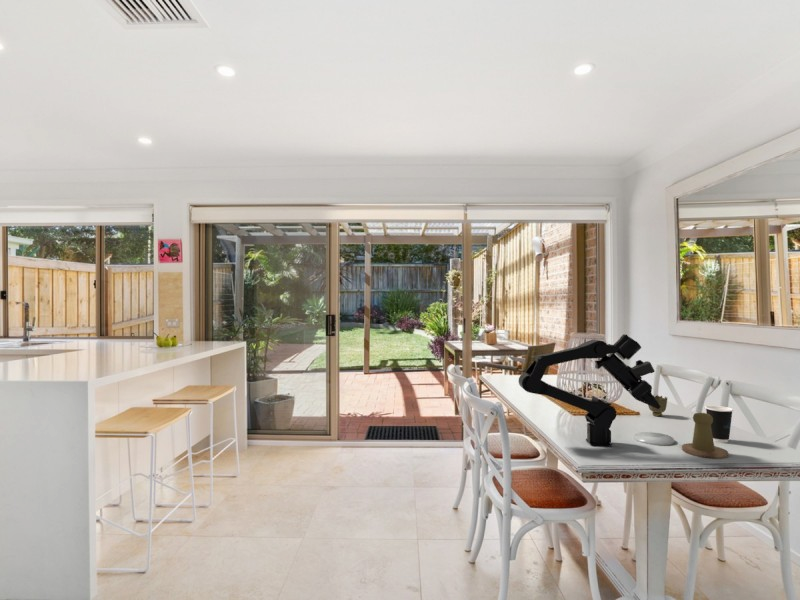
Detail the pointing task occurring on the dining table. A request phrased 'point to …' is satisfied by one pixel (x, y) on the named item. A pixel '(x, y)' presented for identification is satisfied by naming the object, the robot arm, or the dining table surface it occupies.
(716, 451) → the walnut trivet
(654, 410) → the cup
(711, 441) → the olive chess pawn
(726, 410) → the dixie cup
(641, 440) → the grey round disc
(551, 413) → the dining table surface
